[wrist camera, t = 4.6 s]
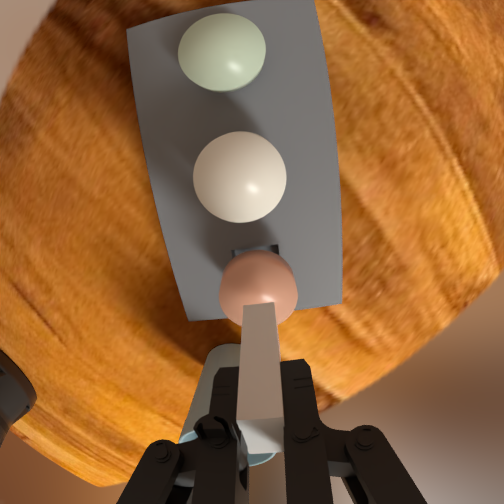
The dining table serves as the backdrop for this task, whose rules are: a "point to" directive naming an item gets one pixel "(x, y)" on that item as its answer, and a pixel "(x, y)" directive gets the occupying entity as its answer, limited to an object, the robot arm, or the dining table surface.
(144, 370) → the dining table surface
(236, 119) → the gray rectangular slab
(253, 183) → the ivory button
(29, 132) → the dining table surface
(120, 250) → the dining table surface
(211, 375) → the cup
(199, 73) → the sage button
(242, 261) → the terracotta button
